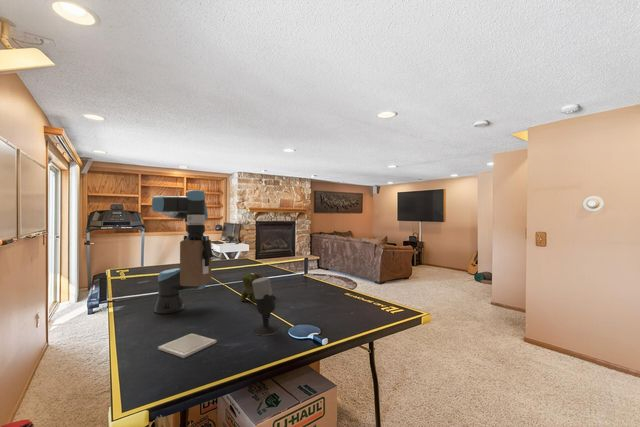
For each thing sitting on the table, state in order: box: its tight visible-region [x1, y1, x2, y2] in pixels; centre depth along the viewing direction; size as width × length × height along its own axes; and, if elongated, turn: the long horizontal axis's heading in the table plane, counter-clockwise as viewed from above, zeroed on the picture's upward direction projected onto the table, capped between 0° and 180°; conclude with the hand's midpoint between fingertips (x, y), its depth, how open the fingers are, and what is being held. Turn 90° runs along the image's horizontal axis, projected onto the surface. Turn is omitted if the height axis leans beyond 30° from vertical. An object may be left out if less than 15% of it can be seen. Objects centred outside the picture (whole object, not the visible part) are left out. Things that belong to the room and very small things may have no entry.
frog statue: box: [240, 272, 264, 303], centre depth 194 cm, size 19×16×25 cm
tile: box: [157, 332, 217, 359], centre depth 125 cm, size 16×16×1 cm
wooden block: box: [179, 239, 212, 287], centre depth 134 cm, size 10×10×20 cm
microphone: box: [251, 276, 280, 337], centre depth 141 cm, size 13×13×25 cm
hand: (196, 272), depth 134 cm, fingers closed on wooden block, 11 cm apart
